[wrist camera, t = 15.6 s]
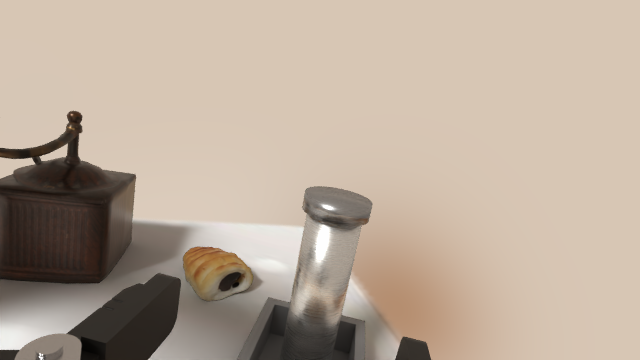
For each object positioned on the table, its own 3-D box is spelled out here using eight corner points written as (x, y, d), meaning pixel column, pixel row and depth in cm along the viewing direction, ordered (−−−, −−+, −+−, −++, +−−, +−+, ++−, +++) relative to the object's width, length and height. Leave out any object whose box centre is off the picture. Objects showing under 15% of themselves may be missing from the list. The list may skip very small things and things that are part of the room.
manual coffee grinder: (36, 233, 43) (36, 85, 39) (133, 241, 46) (143, 103, 42) (-74, 310, 28) (-92, 85, 24) (79, 316, 31) (86, 113, 27)
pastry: (167, 266, 42) (170, 237, 41) (218, 256, 47) (222, 230, 46) (203, 308, 35) (207, 274, 35) (258, 291, 40) (263, 261, 39)
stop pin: (264, 389, 26) (299, 198, 22) (280, 346, 30) (310, 182, 27) (328, 407, 25) (373, 214, 22) (334, 360, 30) (371, 195, 27)
